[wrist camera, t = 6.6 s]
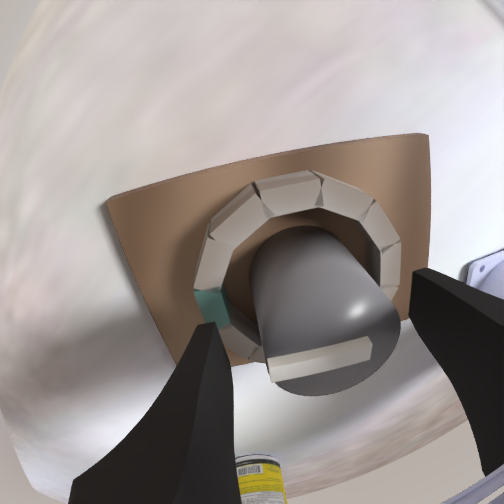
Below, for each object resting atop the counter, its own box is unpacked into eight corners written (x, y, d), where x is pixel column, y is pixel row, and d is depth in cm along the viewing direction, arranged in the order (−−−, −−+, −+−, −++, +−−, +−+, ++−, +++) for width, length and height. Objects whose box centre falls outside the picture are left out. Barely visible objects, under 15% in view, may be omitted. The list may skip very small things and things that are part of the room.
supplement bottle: (259, 475, 24) (269, 546, 17) (217, 468, 23) (222, 546, 15) (289, 457, 23) (306, 536, 15) (246, 449, 21) (257, 538, 14)
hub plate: (418, 132, 12) (450, 140, 10) (415, 306, 16) (435, 330, 14) (111, 196, 12) (91, 214, 10) (183, 364, 16) (180, 397, 14)
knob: (347, 217, 13) (416, 283, 8) (346, 304, 15) (393, 384, 10) (241, 234, 12) (259, 318, 8) (256, 321, 14) (274, 415, 10)
